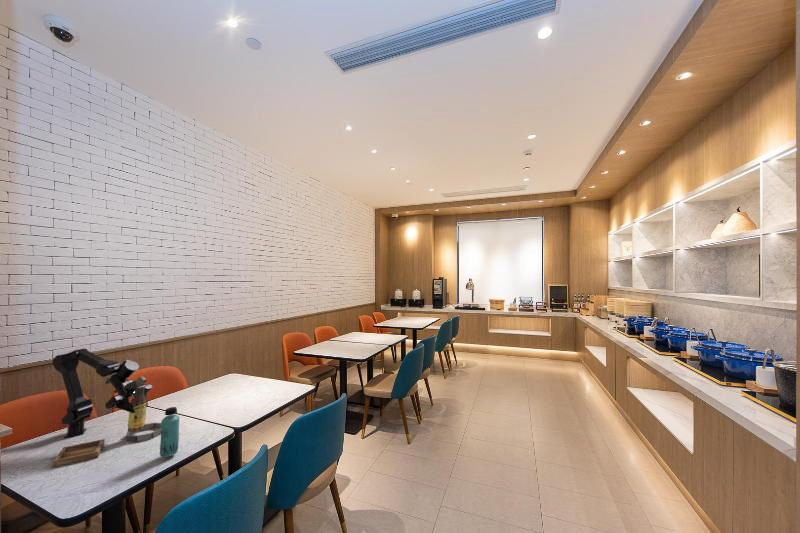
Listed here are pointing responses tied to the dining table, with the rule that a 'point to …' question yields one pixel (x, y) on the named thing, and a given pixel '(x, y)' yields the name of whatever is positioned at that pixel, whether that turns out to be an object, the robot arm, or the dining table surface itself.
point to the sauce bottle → (137, 410)
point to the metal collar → (134, 438)
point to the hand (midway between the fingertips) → (140, 409)
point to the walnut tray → (78, 453)
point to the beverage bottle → (169, 433)
